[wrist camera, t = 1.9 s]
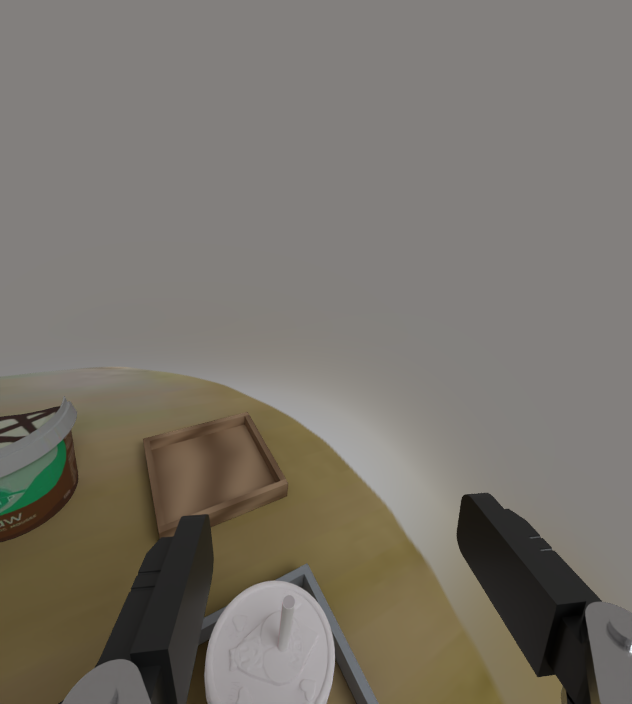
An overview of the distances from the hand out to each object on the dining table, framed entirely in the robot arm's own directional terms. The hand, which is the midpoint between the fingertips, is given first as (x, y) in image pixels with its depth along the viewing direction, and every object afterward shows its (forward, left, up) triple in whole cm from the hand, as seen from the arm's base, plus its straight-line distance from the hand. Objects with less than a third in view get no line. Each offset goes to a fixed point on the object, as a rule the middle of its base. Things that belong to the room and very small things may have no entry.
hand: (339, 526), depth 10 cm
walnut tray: (+1, +22, -21) cm, 30 cm away
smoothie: (-1, +2, -21) cm, 21 cm away
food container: (-16, +24, -21) cm, 35 cm away
